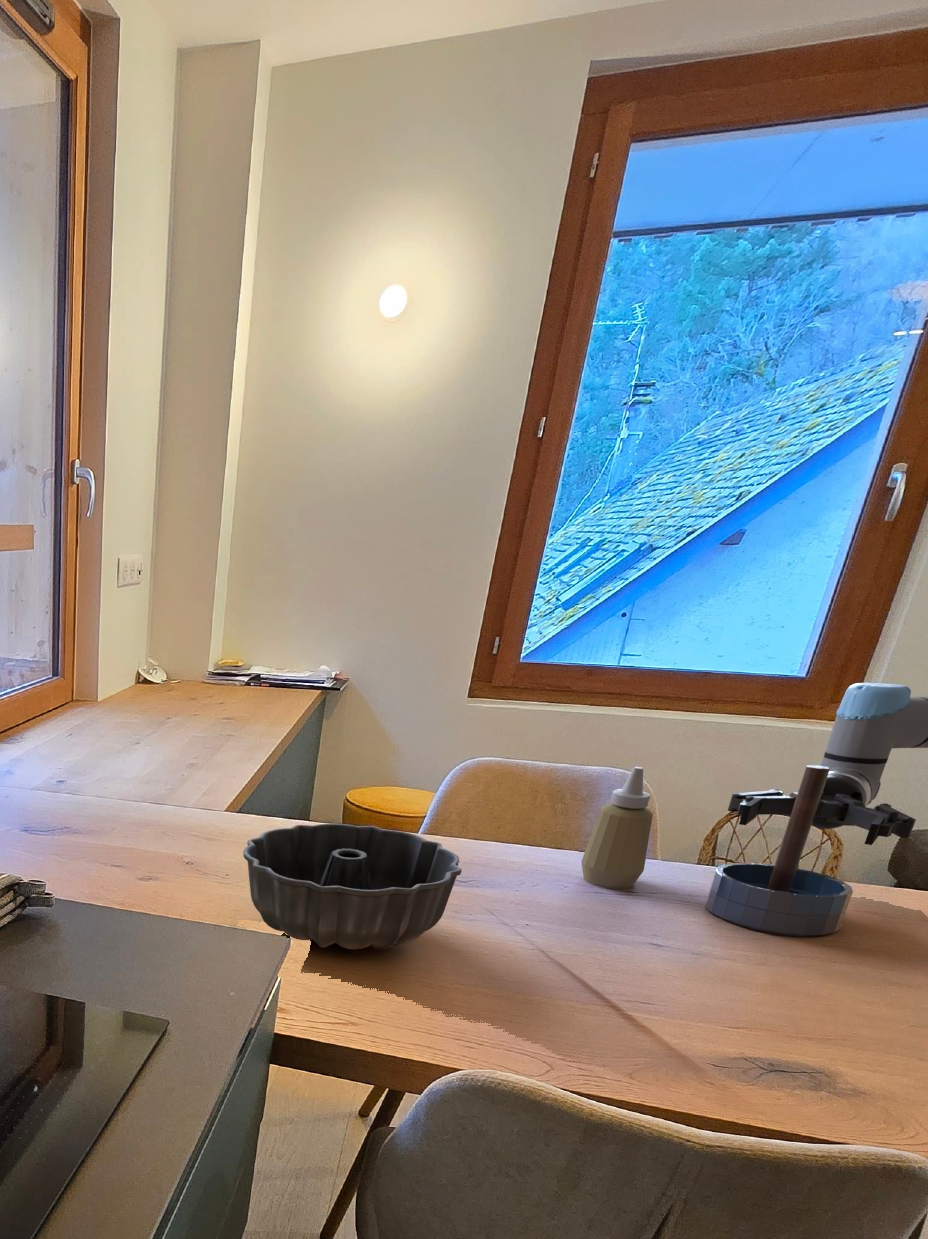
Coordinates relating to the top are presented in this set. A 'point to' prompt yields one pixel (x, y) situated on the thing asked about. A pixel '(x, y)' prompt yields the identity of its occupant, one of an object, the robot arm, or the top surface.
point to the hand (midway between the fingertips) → (806, 824)
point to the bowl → (778, 900)
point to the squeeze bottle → (620, 837)
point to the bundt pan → (349, 883)
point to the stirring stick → (798, 827)
